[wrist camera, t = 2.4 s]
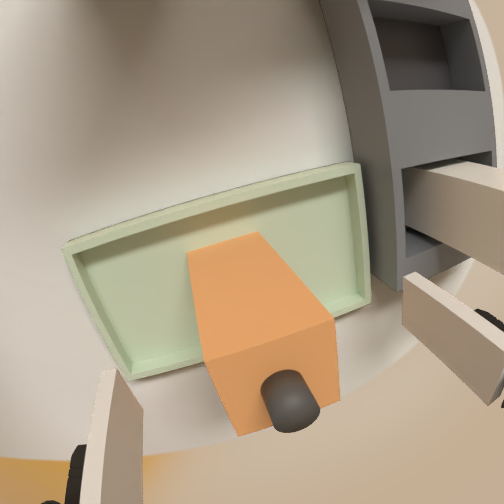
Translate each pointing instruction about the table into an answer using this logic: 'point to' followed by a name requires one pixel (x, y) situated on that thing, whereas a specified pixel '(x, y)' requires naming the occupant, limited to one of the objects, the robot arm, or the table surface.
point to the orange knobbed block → (262, 336)
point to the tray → (210, 232)
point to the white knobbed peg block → (458, 207)
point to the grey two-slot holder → (409, 112)
